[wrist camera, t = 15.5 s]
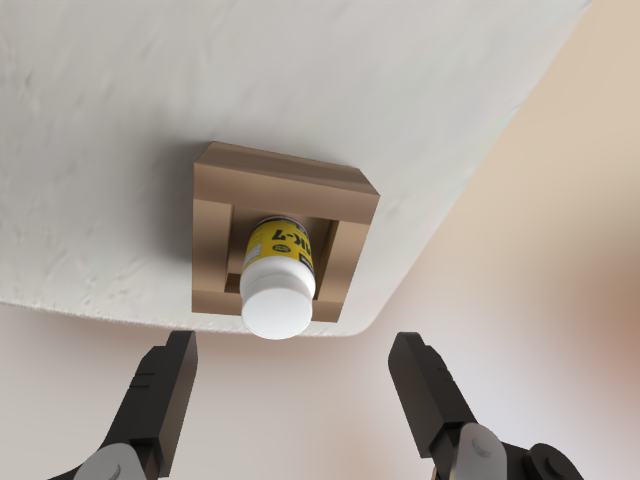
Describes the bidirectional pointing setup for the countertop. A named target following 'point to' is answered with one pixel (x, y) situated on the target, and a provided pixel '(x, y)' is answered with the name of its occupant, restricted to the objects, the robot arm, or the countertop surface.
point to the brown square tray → (267, 201)
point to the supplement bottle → (277, 279)
